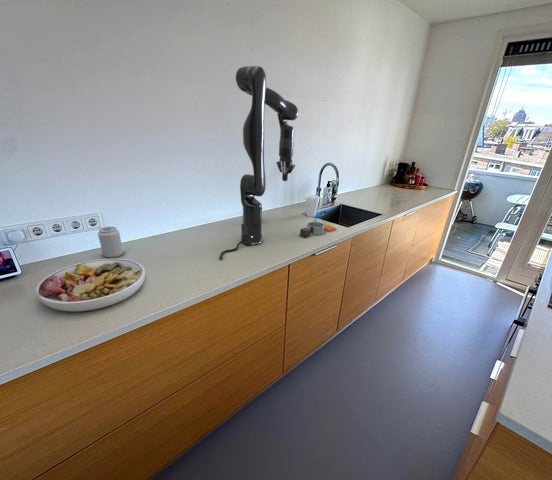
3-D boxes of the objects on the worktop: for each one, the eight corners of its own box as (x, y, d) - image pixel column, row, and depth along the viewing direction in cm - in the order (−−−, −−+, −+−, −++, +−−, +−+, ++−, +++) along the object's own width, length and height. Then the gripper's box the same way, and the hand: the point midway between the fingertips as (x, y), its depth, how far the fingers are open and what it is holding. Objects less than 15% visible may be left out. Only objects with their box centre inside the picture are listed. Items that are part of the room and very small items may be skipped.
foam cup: (313, 218, 190) (315, 199, 184) (301, 215, 194) (303, 196, 188) (320, 215, 197) (322, 196, 192) (308, 212, 201) (309, 194, 196)
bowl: (125, 262, 118) (121, 245, 114) (162, 290, 101) (159, 270, 98) (30, 289, 96) (21, 269, 93) (57, 330, 80) (48, 307, 76)
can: (120, 249, 128) (115, 224, 123) (126, 255, 124) (120, 229, 118) (101, 254, 123) (94, 227, 118) (106, 260, 119) (99, 233, 113)
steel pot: (315, 236, 160) (316, 228, 158) (303, 231, 166) (303, 223, 164) (327, 232, 167) (328, 225, 165) (315, 227, 173) (315, 220, 171)
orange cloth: (329, 231, 169) (329, 229, 168) (320, 228, 173) (320, 226, 172) (335, 229, 172) (336, 227, 172) (326, 226, 177) (327, 224, 176)
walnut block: (305, 237, 157) (305, 230, 155) (299, 235, 159) (300, 228, 158) (310, 236, 160) (310, 229, 158) (304, 234, 162) (305, 227, 160)
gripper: (272, 146, 153) (271, 179, 160) (289, 148, 144) (287, 183, 152) (283, 146, 158) (282, 178, 165) (300, 148, 149) (298, 182, 157)
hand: (284, 180), depth 159 cm, fingers closed
